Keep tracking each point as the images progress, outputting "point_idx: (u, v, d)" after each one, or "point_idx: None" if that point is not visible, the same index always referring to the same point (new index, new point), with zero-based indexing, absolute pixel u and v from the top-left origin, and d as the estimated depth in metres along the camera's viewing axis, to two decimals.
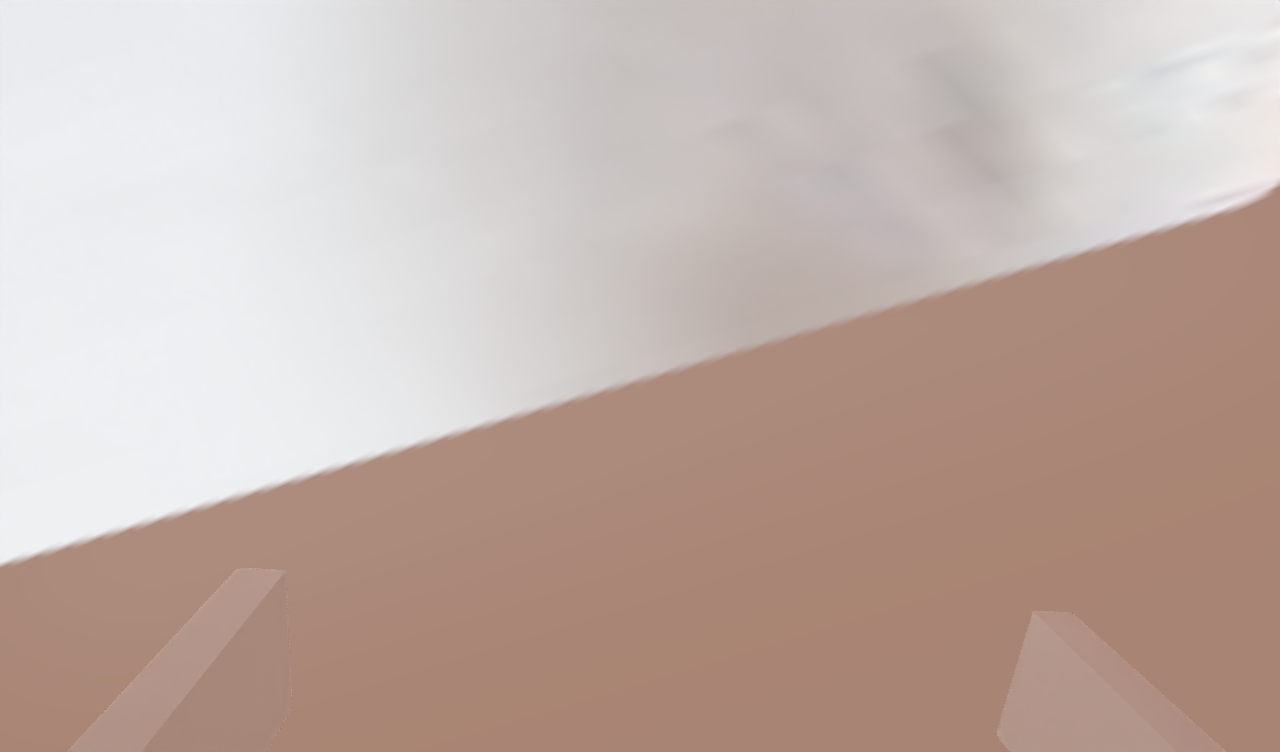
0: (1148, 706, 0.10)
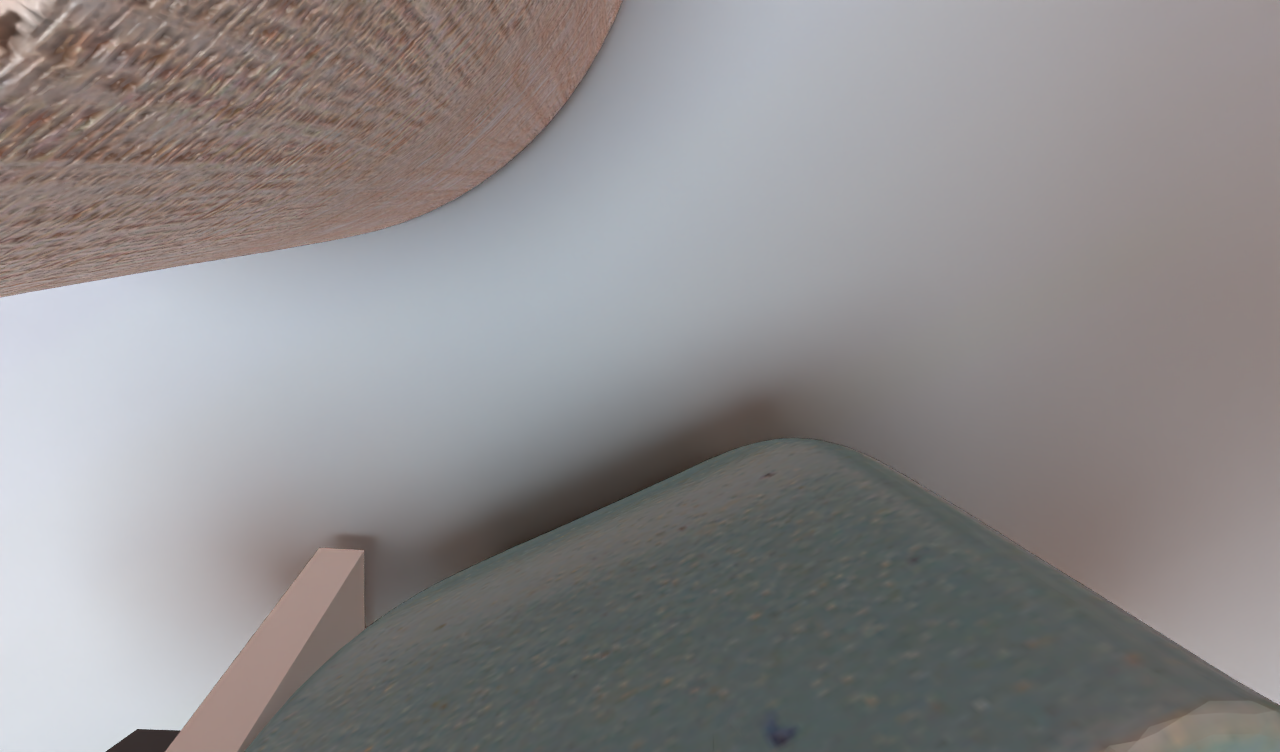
0: None
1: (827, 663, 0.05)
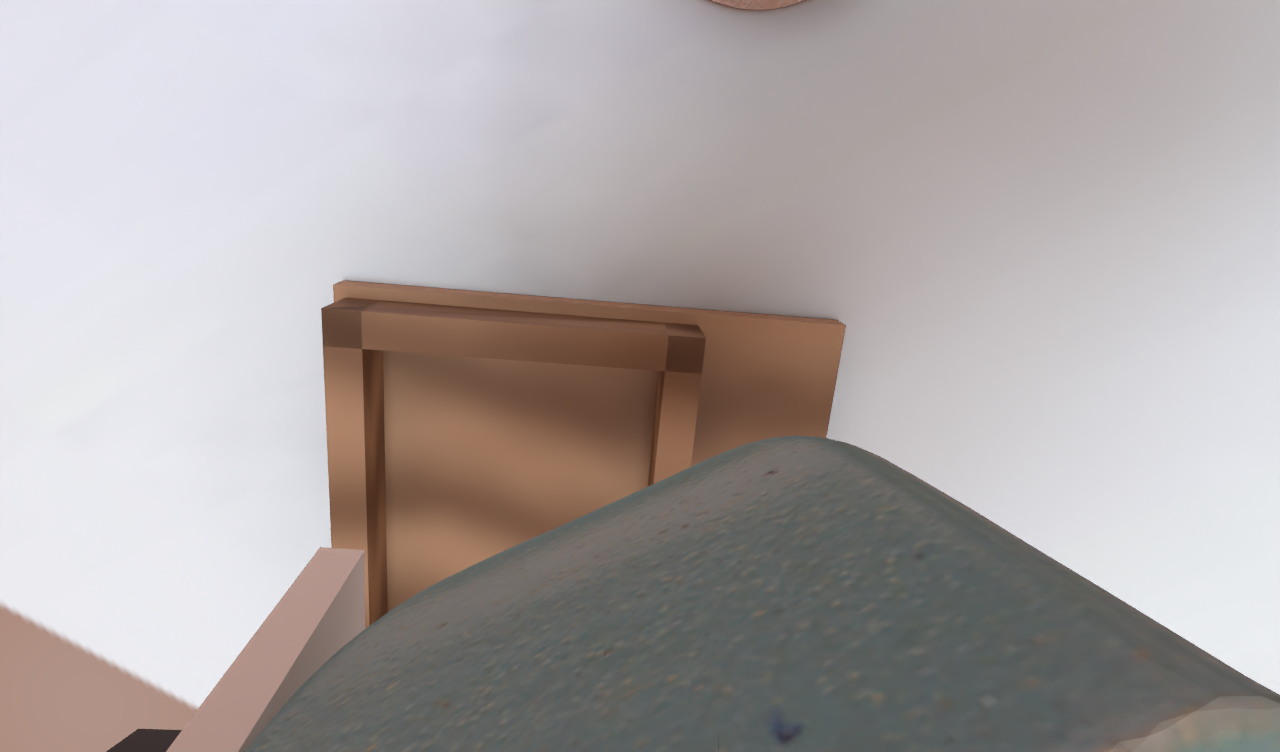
0: None
1: (832, 660, 0.05)
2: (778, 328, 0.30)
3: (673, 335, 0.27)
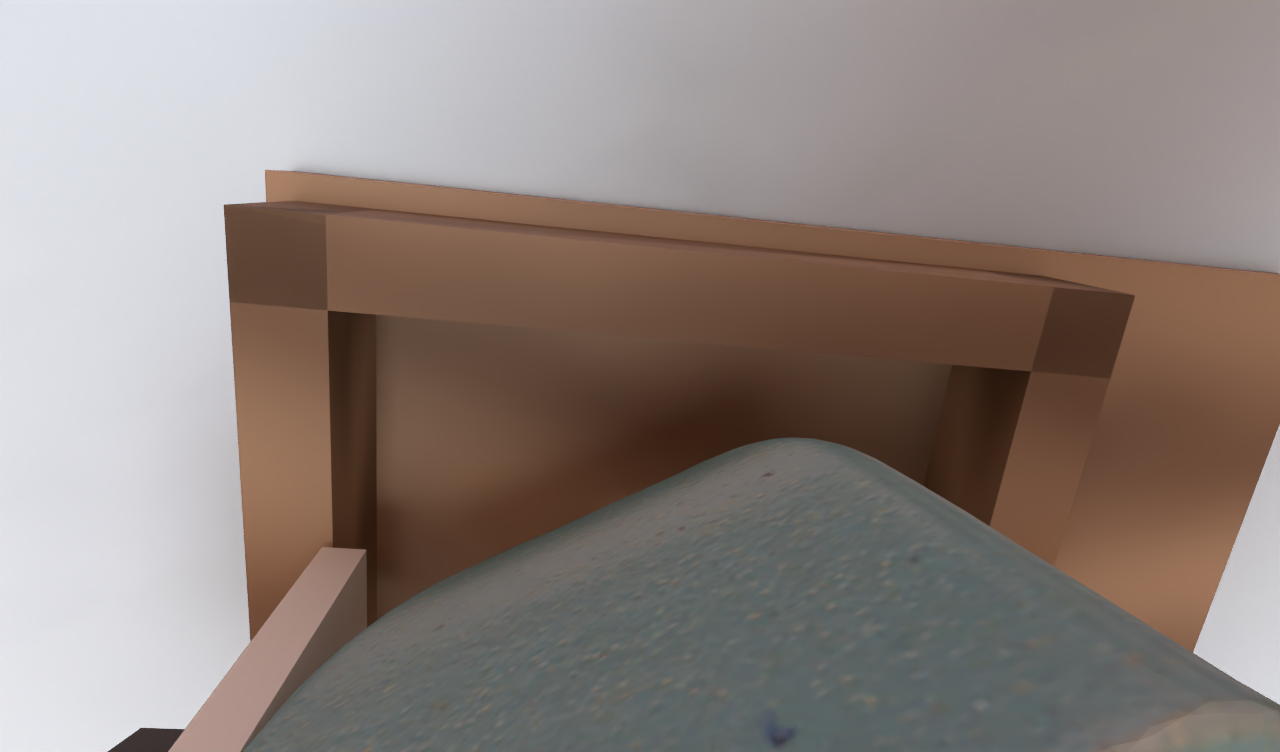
0: None
1: (827, 663, 0.05)
2: (1200, 285, 0.14)
3: (1061, 287, 0.12)
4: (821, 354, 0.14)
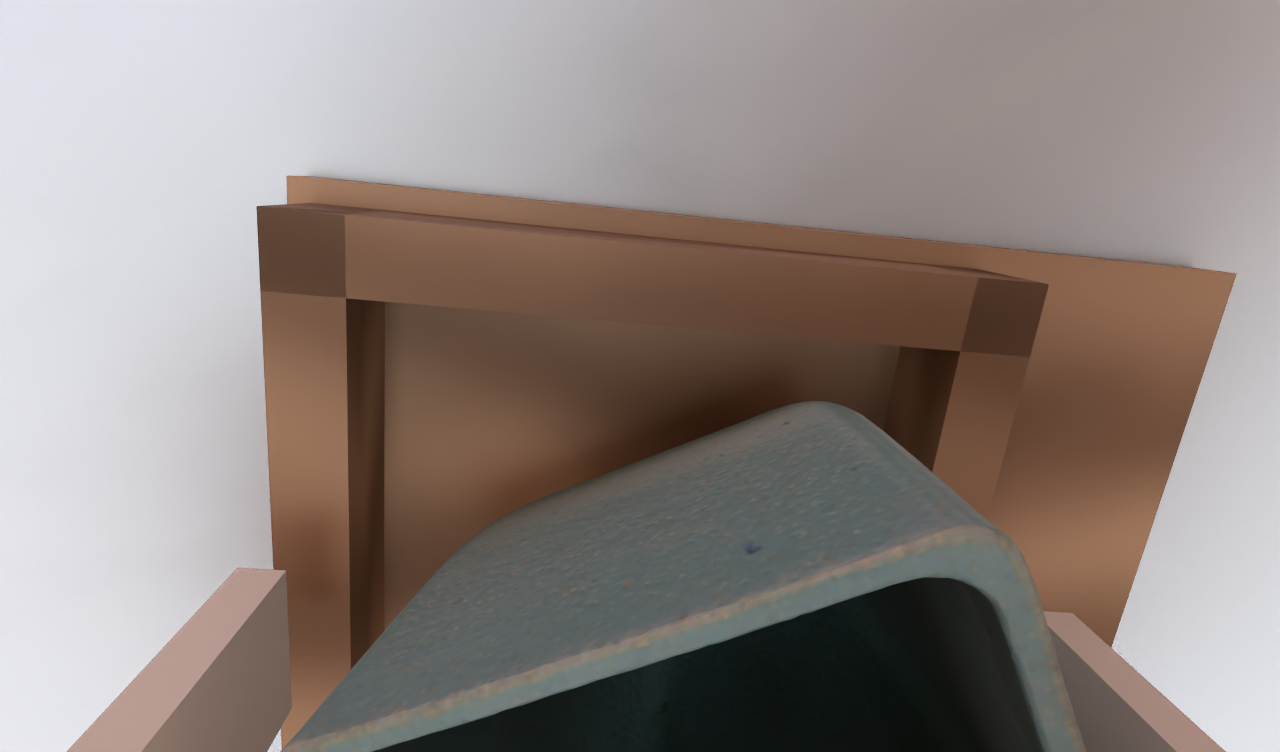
0: (1148, 706, 0.10)
1: (787, 519, 0.08)
2: (1119, 277, 0.16)
3: (985, 278, 0.13)
4: (783, 339, 0.16)
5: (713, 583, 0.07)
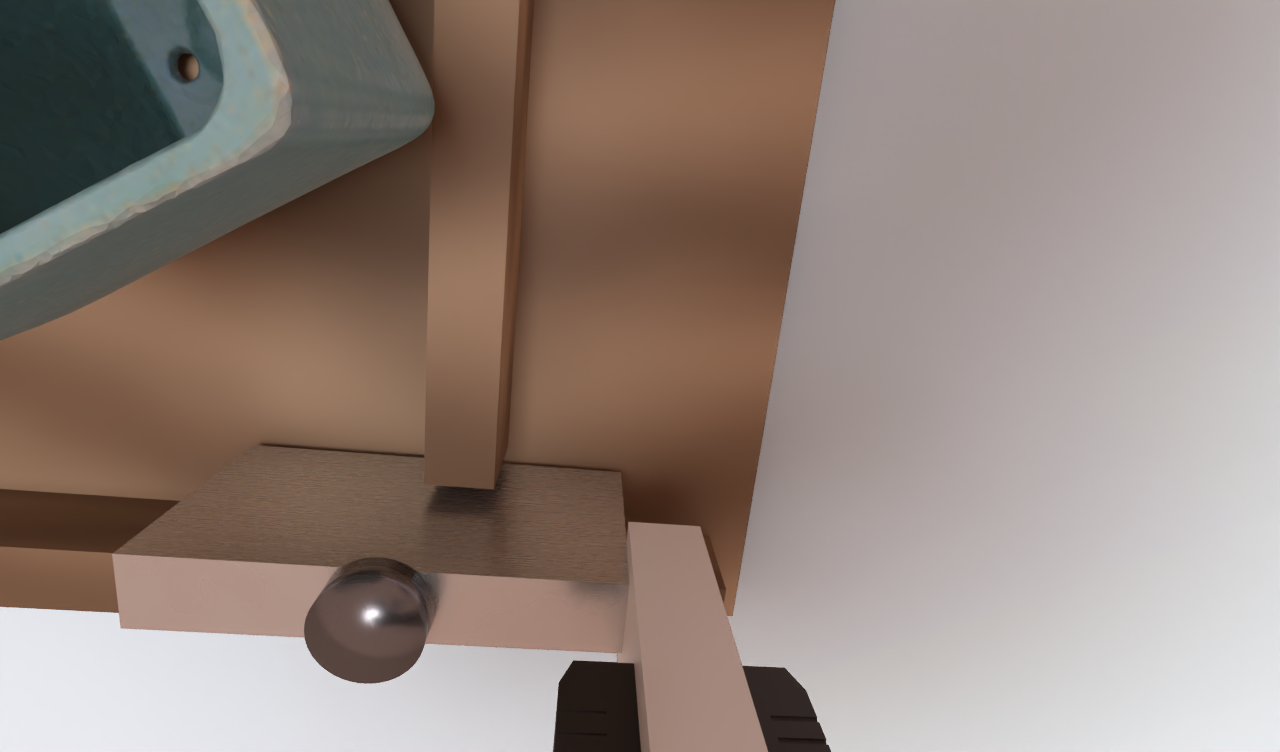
0: (693, 589, 0.12)
1: None
2: None
3: None
4: None
5: None
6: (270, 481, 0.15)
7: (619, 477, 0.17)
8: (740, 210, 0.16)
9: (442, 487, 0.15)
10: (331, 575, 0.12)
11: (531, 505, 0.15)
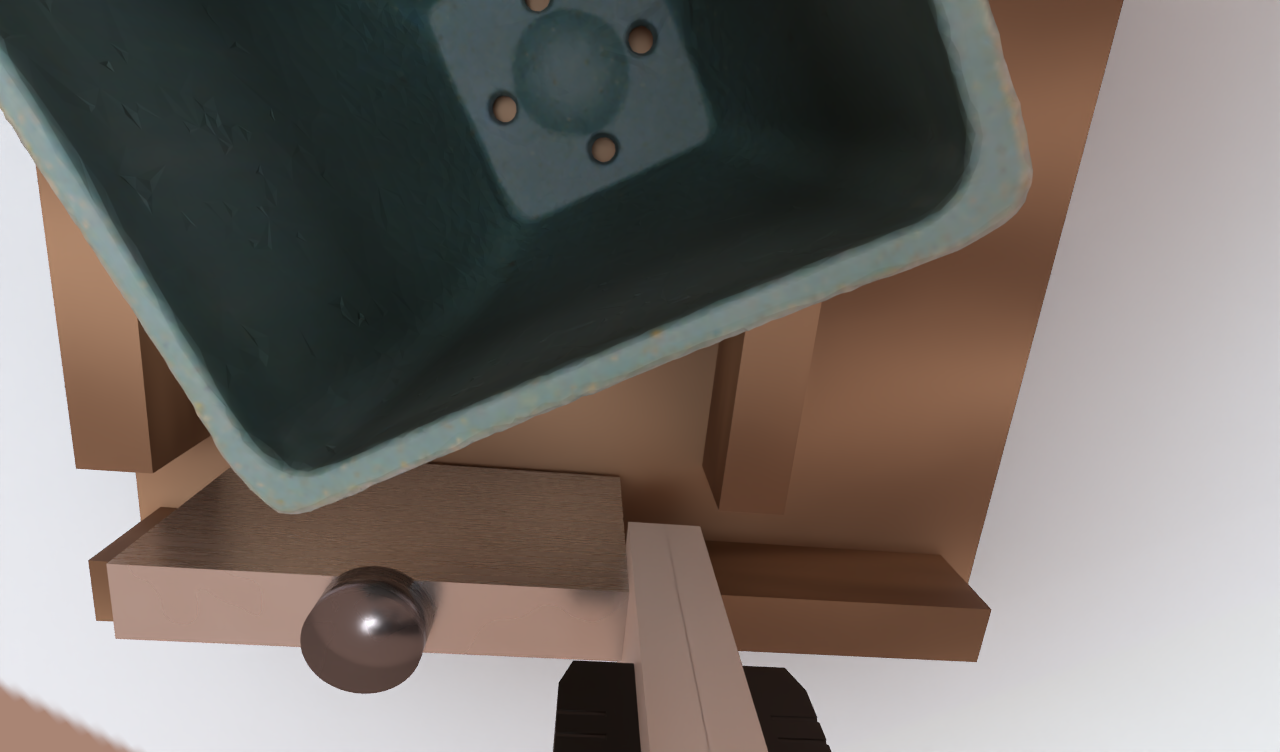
0: (693, 589, 0.12)
1: None
2: None
3: None
4: None
5: None
6: None
7: (619, 482, 0.17)
8: (1002, 241, 0.16)
9: (440, 493, 0.15)
10: (328, 584, 0.12)
11: (529, 511, 0.15)
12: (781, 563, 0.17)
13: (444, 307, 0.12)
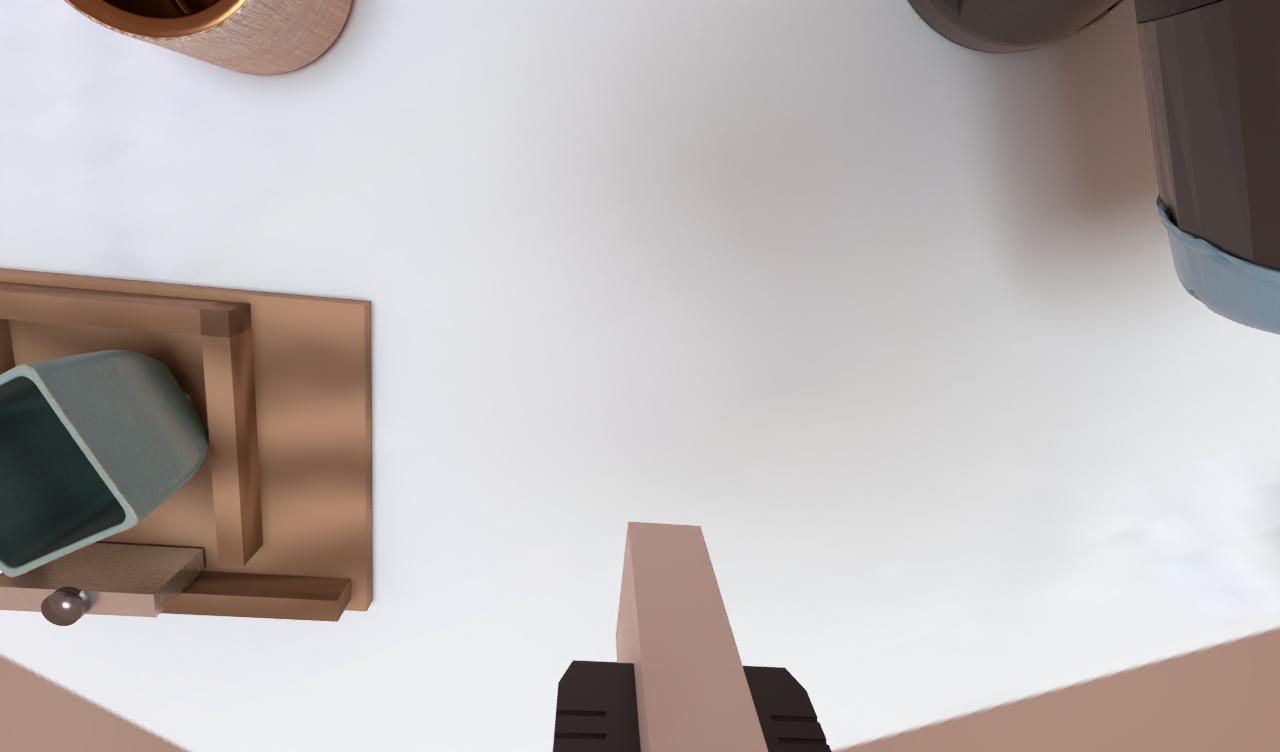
0: (693, 589, 0.12)
1: None
2: (313, 306, 0.40)
3: (203, 309, 0.37)
4: None
5: None
6: None
7: (199, 551, 0.43)
8: (342, 459, 0.43)
9: (117, 558, 0.41)
10: (53, 592, 0.38)
11: (146, 565, 0.41)
12: (269, 582, 0.44)
13: (94, 503, 0.39)
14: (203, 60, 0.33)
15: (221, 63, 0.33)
